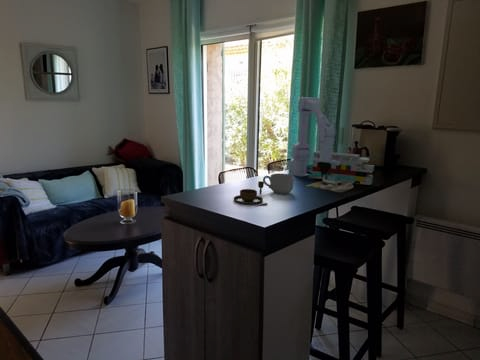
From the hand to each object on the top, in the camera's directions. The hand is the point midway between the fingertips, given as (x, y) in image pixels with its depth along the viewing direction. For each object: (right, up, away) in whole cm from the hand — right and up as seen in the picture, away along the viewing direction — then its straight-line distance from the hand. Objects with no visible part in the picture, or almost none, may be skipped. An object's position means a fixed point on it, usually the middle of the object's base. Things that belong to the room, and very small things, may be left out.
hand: (323, 177), depth 176 cm
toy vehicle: (+12, -3, +10) cm, 16 cm away
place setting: (-36, -10, -29) cm, 47 cm away
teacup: (-25, -7, -16) cm, 30 cm away
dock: (+3, -5, -1) cm, 6 cm away
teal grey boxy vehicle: (+3, -4, -3) cm, 6 cm away
